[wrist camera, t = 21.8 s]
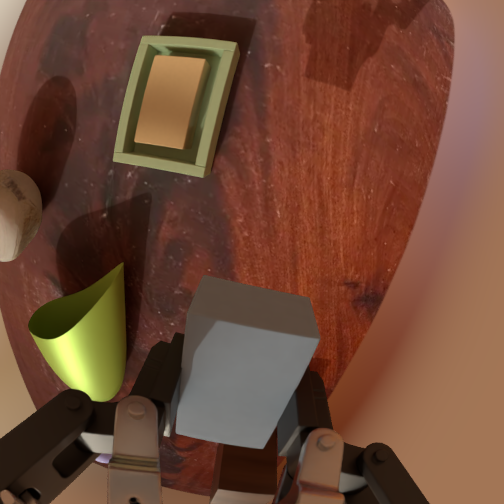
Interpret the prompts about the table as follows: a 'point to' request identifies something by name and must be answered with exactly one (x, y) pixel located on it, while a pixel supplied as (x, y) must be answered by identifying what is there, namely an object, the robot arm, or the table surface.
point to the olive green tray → (211, 113)
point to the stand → (245, 474)
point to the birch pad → (172, 101)
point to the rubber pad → (242, 360)
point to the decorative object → (18, 213)
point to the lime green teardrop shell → (86, 336)
